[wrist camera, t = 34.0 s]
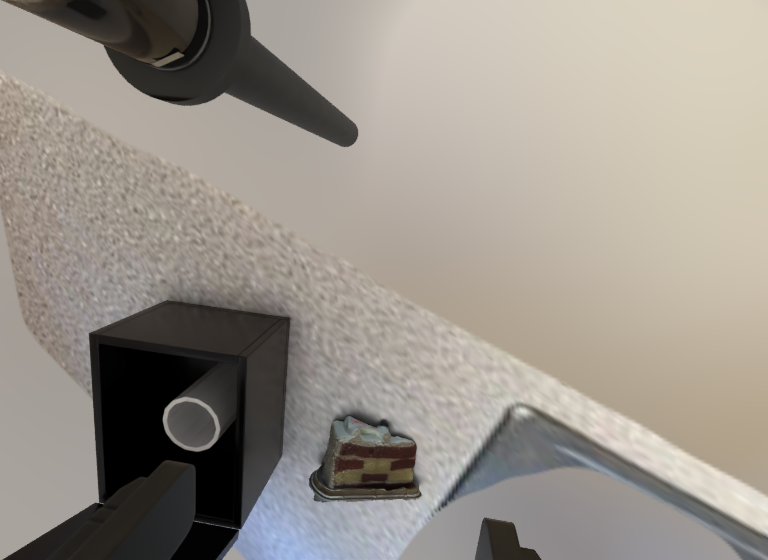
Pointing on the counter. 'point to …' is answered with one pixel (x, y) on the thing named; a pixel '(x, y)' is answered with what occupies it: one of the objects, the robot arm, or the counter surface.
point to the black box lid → (193, 556)
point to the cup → (203, 409)
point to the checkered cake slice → (365, 465)
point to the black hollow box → (171, 378)
